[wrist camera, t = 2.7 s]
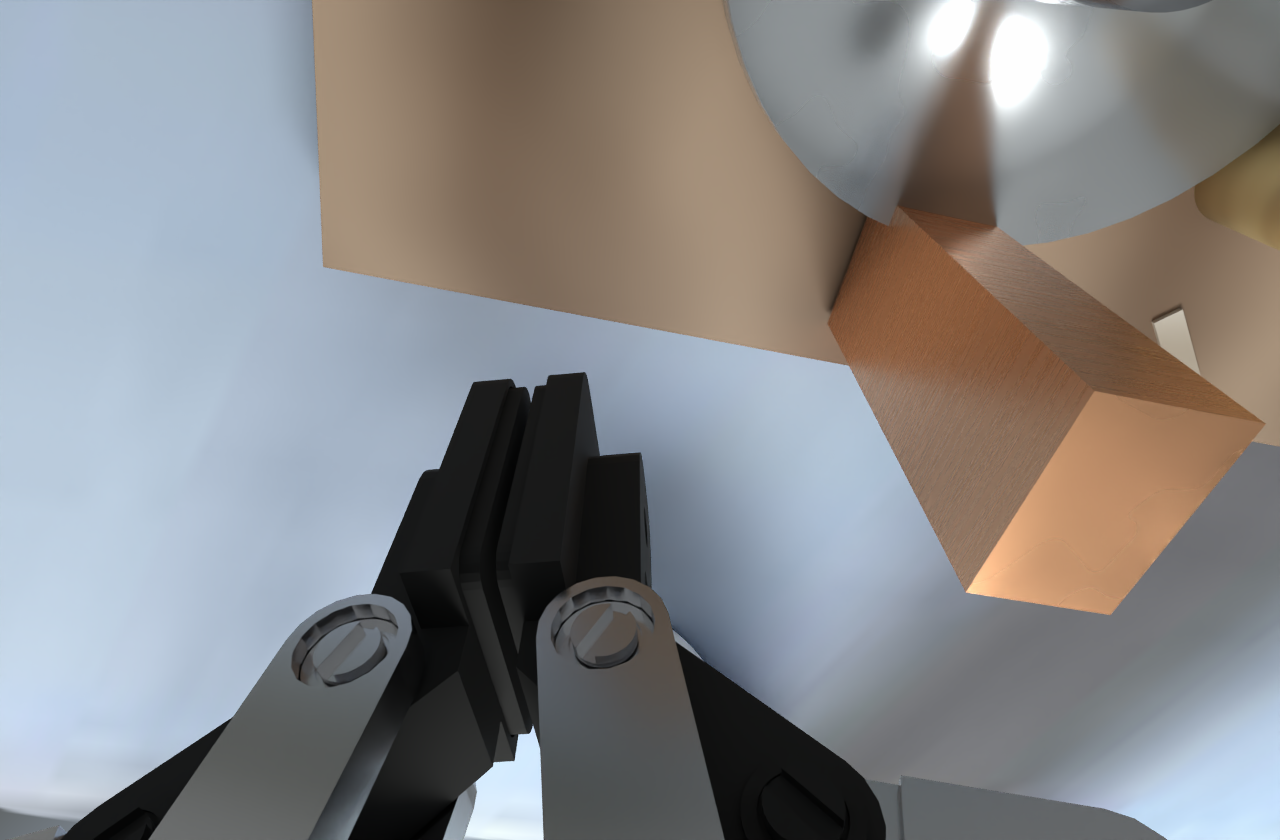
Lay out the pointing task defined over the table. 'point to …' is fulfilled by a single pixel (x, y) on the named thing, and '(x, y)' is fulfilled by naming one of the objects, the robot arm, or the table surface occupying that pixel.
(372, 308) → the table surface
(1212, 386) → the flange plate
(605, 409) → the table surface
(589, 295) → the walnut board
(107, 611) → the table surface
